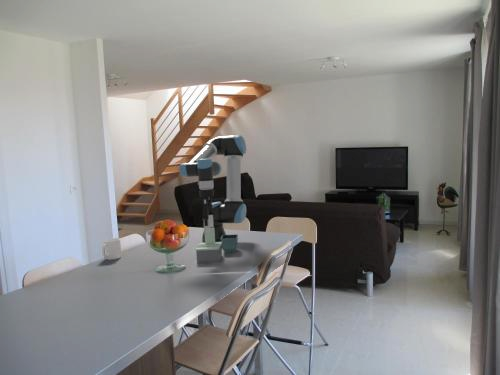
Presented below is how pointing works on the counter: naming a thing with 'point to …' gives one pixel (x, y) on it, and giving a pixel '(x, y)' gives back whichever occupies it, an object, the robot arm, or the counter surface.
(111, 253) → the cup
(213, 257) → the tub
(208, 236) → the lid
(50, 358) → the counter surface
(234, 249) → the flower pot
